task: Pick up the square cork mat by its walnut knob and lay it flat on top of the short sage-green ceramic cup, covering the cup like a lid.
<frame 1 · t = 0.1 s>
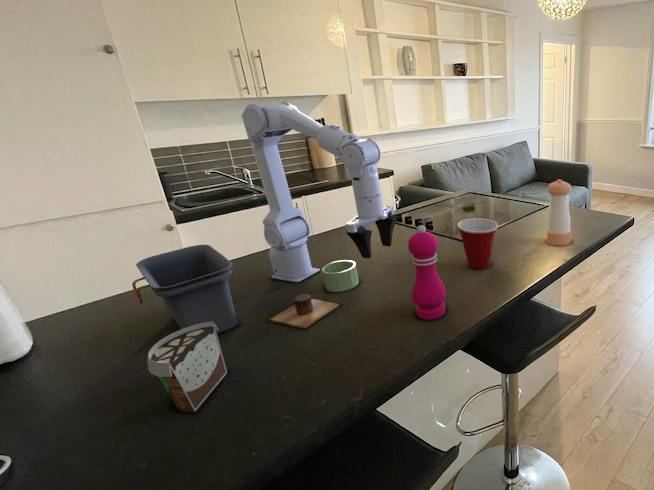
hand: (377, 251, 96), 10 cm above the countertop, tool pointing down, fingers open, 7 cm apart
salt shaker: (558, 241, 125), on the countertop
plastic cup: (480, 265, 111), on the countertop
food container: (193, 393, 68), on the countertop
pepper mill: (431, 313, 89), on the countertop
green cup: (342, 284, 104), on the countertop
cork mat: (305, 313, 91), on the countertop
storage bin: (200, 325, 88), on the countertop
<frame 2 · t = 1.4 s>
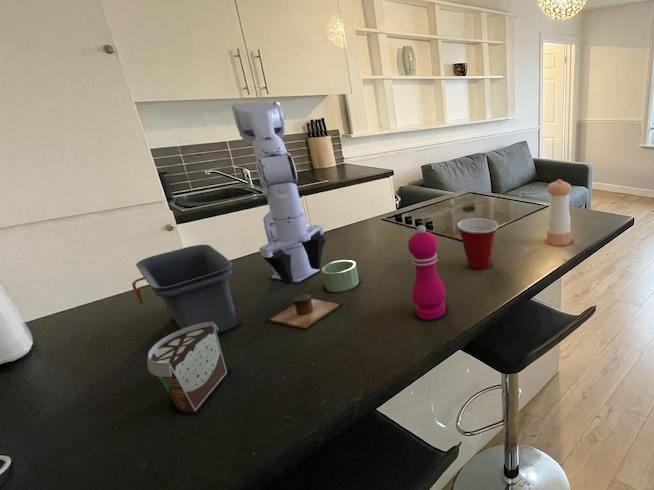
hand: (302, 275, 88), 9 cm above the countertop, tool pointing down, fingers open, 7 cm apart
nothing on the countertop moved.
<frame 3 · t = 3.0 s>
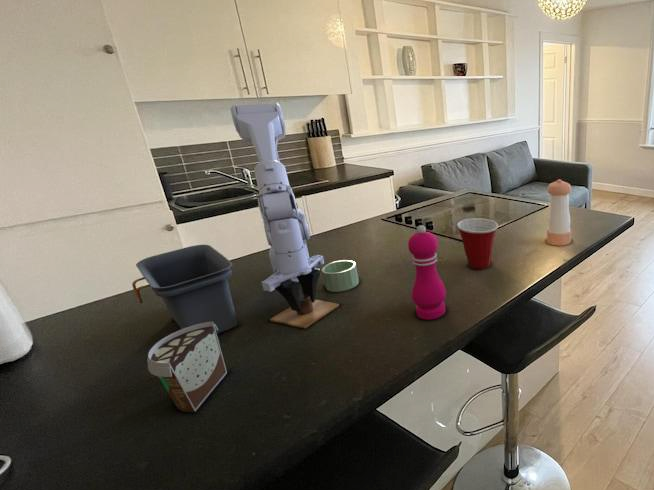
hand: (303, 305, 90), 2 cm above the countertop, tool pointing down, fingers closed on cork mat, 3 cm apart
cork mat: (305, 313, 91), on the countertop, touching gripper
everything else where it was.
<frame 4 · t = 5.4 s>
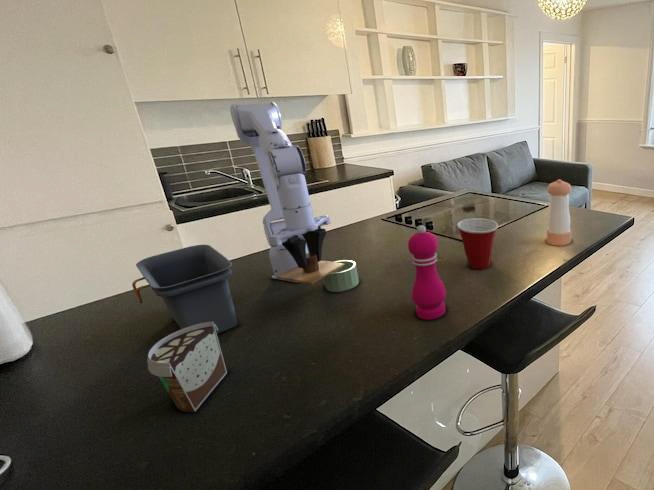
hand: (310, 264, 92), 10 cm above the countertop, tool pointing down, fingers closed on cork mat, 3 cm apart
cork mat: (311, 271, 92), point 8 cm above the countertop, touching gripper
everything else where it was.
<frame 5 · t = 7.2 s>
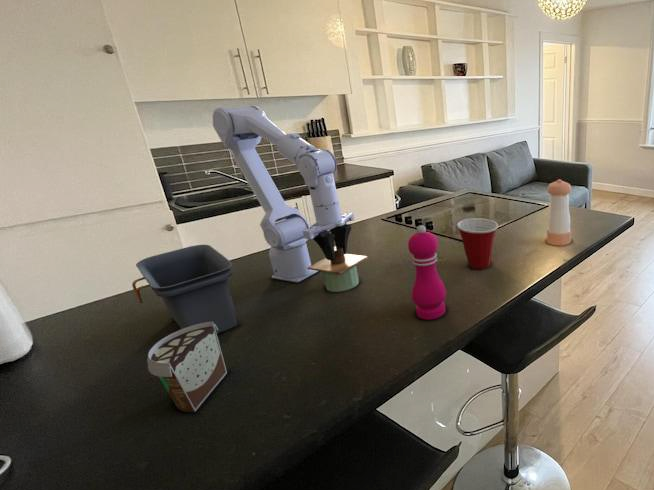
hand: (336, 256, 101), 8 cm above the countertop, tool pointing down, fingers closed on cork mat, 3 cm apart
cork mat: (338, 263, 101), point 6 cm above the countertop, touching gripper
everything else where it was.
when the fingers open (7 cm above the countertop, at t = 8.1 s): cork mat stays where it is, resting on green cup.
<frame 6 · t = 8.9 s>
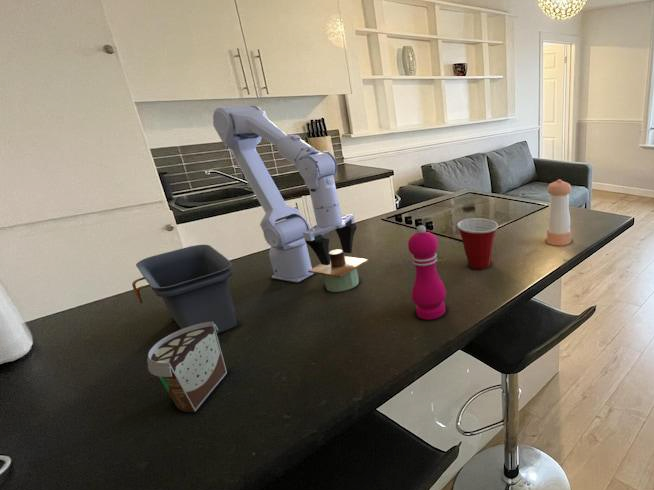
hand: (337, 258, 101), 7 cm above the countertop, tool pointing down, fingers open, 7 cm apart
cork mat: (339, 266, 102), point 5 cm above the countertop, touching green cup
everything else where it was.
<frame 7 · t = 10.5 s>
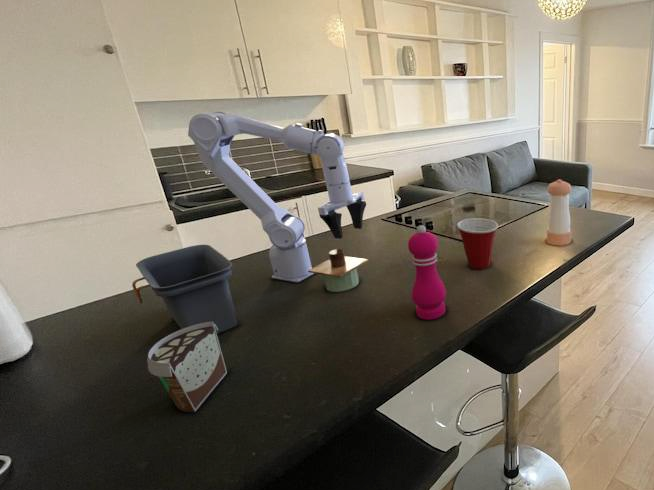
hand: (348, 232, 109), 10 cm above the countertop, tool pointing down, fingers open, 7 cm apart
nothing on the countertop moved.
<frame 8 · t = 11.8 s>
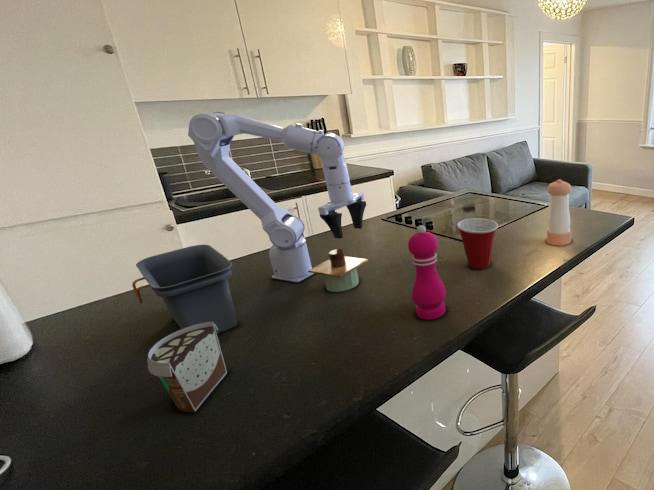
hand: (348, 232, 109), 10 cm above the countertop, tool pointing down, fingers open, 7 cm apart
nothing on the countertop moved.
at the end: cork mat 0.0 cm off-centre on the green cup, point 5.0 cm above the green cup's base; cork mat tilted 0°; the gripper is holding nothing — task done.
